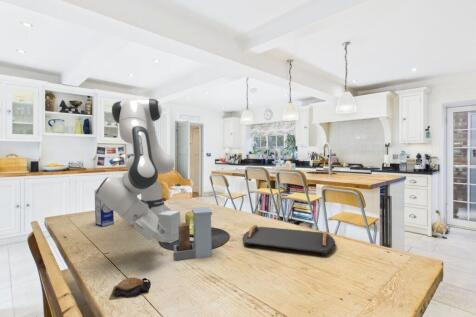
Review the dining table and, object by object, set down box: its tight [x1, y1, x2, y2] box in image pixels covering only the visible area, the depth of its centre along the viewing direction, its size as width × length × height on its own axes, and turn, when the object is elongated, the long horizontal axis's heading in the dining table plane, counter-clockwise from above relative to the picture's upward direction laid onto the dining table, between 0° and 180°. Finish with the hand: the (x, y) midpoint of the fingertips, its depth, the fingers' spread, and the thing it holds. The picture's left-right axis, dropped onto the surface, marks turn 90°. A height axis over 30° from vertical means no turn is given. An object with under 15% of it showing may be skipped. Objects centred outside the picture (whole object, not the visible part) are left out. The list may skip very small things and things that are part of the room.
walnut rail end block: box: [178, 222, 191, 251], centre depth 99 cm, size 4×4×12 cm
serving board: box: [242, 224, 336, 257], centre depth 111 cm, size 39×23×6 cm, turn 69°
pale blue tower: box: [173, 206, 213, 262], centre depth 100 cm, size 14×9×17 cm, turn 105°
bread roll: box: [108, 277, 152, 301], centre depth 75 cm, size 11×8×4 cm
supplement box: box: [157, 210, 181, 244], centre depth 117 cm, size 7×7×13 cm
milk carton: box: [94, 189, 115, 228], centre depth 143 cm, size 7×7×20 cm
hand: (164, 236), depth 97 cm, fingers open, 8 cm apart
